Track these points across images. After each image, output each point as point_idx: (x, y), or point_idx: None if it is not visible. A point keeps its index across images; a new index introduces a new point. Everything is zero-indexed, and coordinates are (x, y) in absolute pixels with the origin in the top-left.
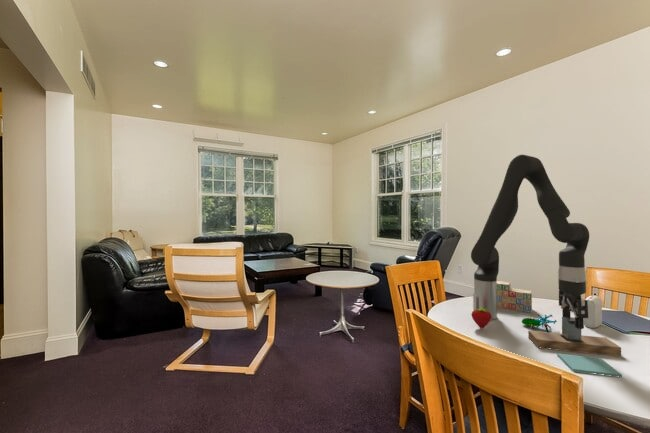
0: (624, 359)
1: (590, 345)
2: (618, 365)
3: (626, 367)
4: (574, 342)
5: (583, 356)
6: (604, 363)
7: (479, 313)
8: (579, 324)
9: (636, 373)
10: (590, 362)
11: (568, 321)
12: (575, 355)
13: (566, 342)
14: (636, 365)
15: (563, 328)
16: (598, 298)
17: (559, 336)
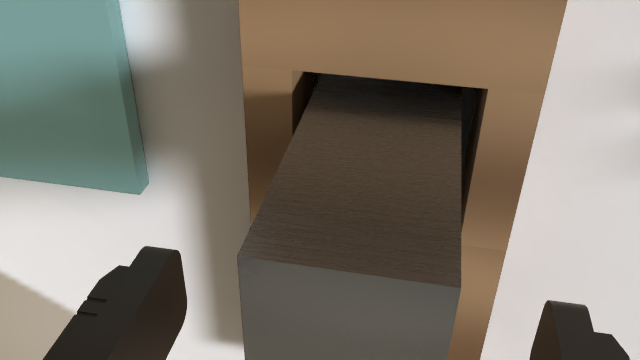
0: (236, 333)
1: None
2: (114, 244)
3: (103, 268)
4: (260, 128)
5: (116, 78)
6: (44, 161)
7: None
8: (85, 307)
9: (36, 266)
10: (7, 66)
11: (242, 257)
12: (107, 15)
13: (242, 43)
14: None
15: (412, 161)
16: None
17: (420, 57)
